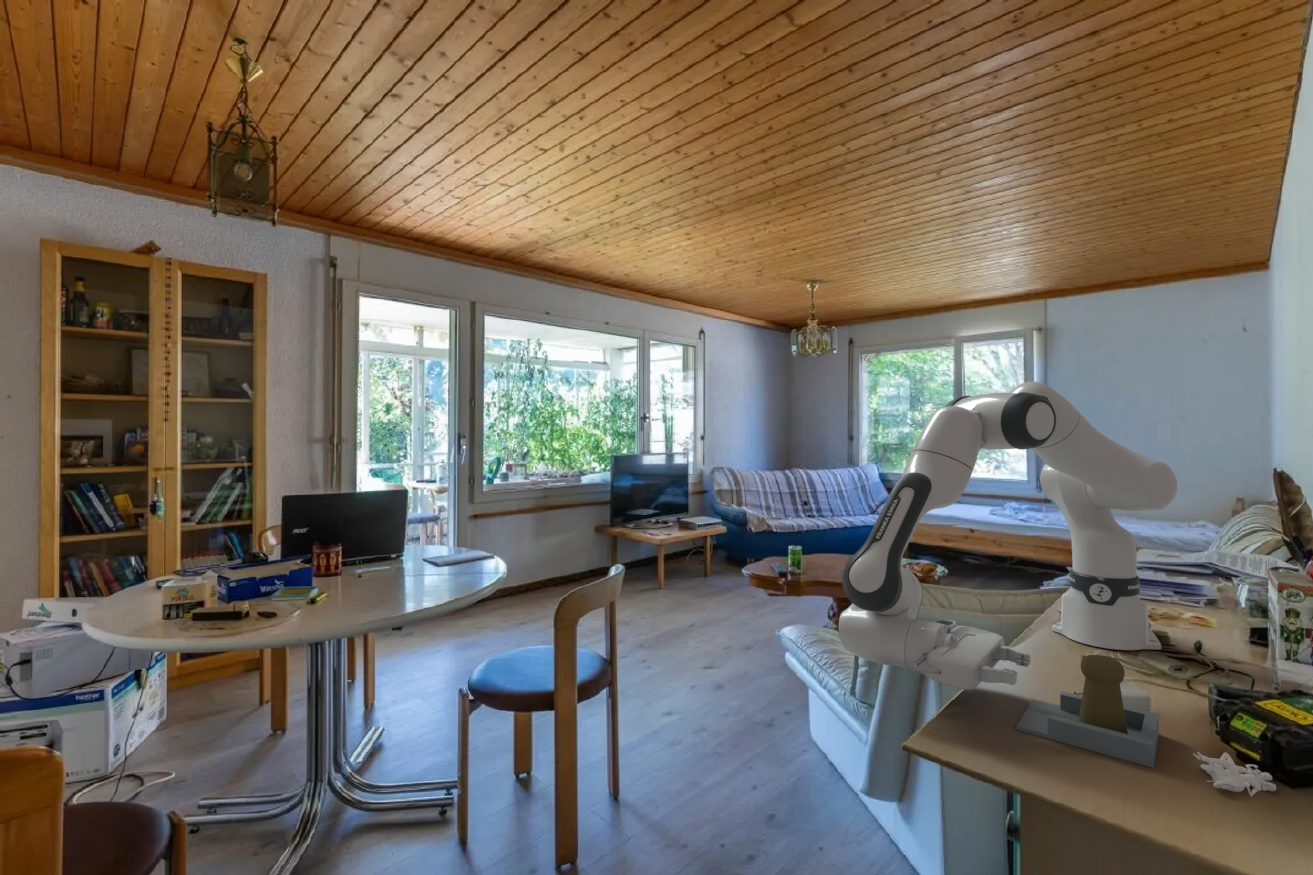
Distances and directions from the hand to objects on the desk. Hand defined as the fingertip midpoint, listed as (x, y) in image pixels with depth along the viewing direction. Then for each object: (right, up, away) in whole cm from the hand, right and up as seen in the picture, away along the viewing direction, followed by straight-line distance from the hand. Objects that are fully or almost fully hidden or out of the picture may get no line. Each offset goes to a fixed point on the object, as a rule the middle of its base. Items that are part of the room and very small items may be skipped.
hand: (1023, 669), depth 97 cm
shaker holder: (+6, -7, -5) cm, 11 cm away
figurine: (+16, -8, -19) cm, 26 cm away
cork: (+8, -7, -7) cm, 12 cm away
